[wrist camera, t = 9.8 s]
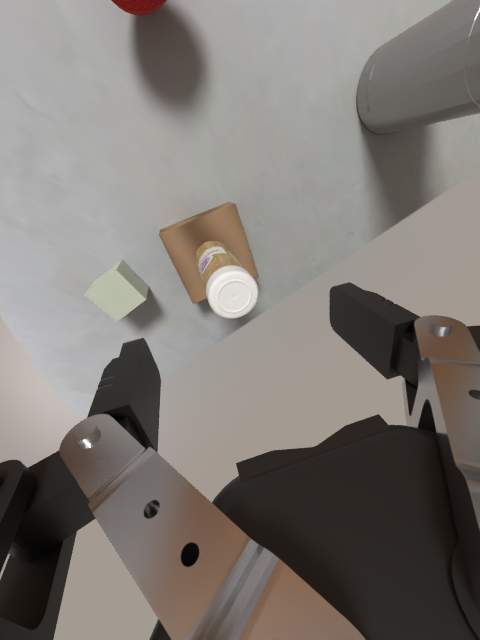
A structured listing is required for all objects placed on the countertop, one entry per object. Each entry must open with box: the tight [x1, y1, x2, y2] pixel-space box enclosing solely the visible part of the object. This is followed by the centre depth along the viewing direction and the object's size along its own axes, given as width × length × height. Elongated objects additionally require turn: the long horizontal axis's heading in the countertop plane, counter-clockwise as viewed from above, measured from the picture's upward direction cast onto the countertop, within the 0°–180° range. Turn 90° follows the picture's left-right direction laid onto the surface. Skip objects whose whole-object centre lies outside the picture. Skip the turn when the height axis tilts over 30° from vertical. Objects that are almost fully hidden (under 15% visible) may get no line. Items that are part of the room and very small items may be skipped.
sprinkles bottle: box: [196, 241, 258, 319], centre depth 28 cm, size 5×5×13 cm
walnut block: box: [159, 202, 259, 304], centre depth 36 cm, size 10×10×4 cm
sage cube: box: [85, 259, 149, 322], centre depth 35 cm, size 5×5×5 cm
